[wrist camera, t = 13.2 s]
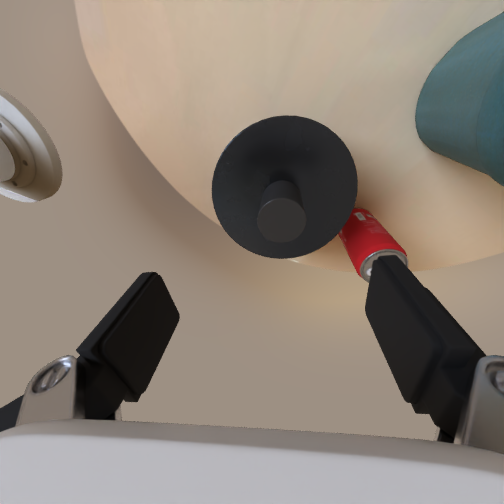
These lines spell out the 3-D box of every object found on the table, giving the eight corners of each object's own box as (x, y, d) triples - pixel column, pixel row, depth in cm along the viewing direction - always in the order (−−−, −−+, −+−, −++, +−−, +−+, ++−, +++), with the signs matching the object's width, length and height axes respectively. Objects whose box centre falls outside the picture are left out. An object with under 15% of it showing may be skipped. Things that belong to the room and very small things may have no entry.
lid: (201, 227, 26) (179, 257, 21) (239, 86, 19) (221, 73, 13) (309, 269, 28) (316, 307, 22) (387, 154, 20) (428, 169, 14)
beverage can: (376, 225, 33) (418, 273, 23) (344, 242, 35) (369, 293, 25) (361, 198, 31) (400, 238, 21) (328, 218, 33) (349, 262, 23)
